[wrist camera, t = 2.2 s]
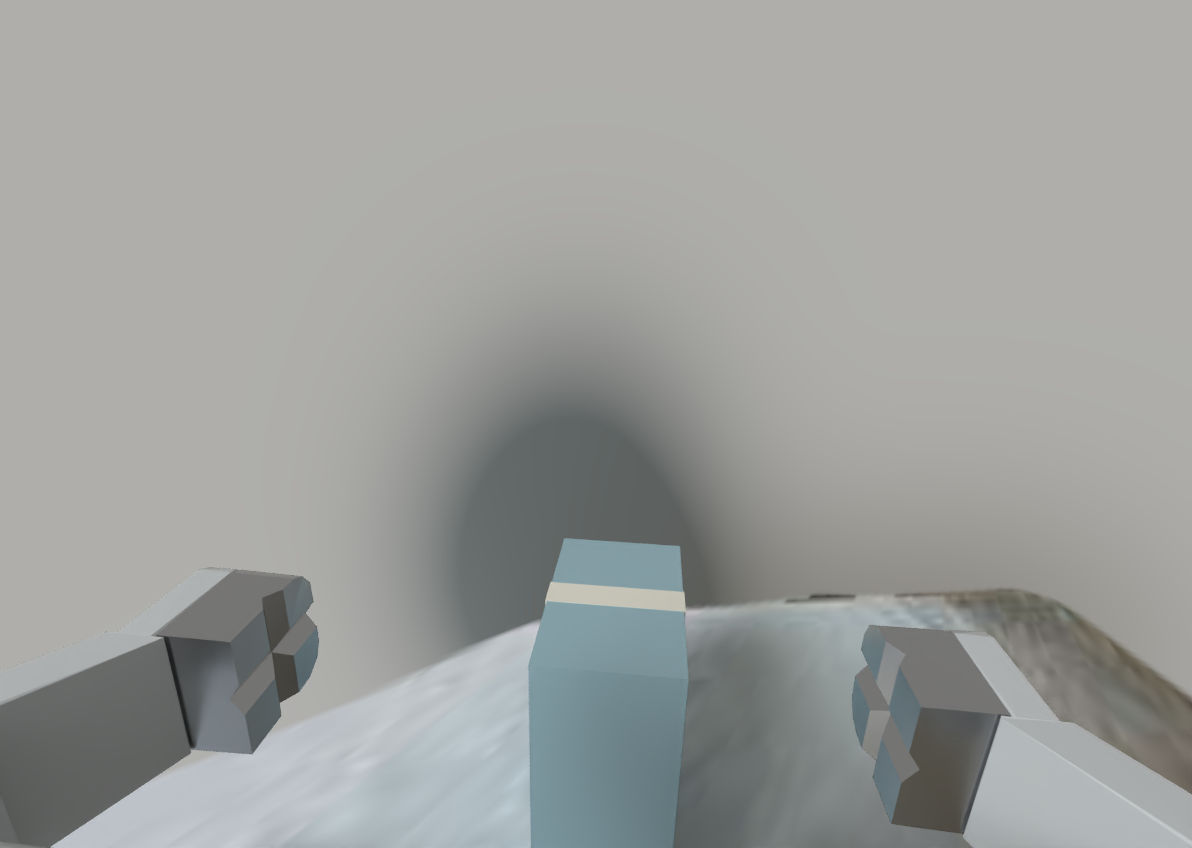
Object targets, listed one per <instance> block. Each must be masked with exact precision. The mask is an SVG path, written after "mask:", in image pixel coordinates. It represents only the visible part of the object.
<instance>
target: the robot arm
mask: <svg viewBox="0 0 1192 848" xmlns="http://www.w3.org/2000/svg"><path fill="white" fill-rule="evenodd" d="M312 603H313V596H312V591H311V585H310V582H309V581H308V580H306V579H305V578H303V577H302V576H294V575H284V574H275V573H266V572H256V571H247V570H236V569H226V568H214V567H209V568H204V569H199V570H197V571H196V572H195V573H193V574H192V575H191V576H190V577H188V578H187V579H186V580H184V581H183V582H182V583H181V584H179V585H178V586H177V587H175V588H174V589H173V590H171V591H170V592H169V593H167V594H166V595H165V596H164V597H162V598H161V599H160V600H159V601H157V602H156V603H154V604H153V605H152V606H150V607H149V608H148V609H147V610H145V611H144V612H143V613H141V614H140V615H139V616H138V617H136V618H135V619H134V620H132V621H131V622H130V623H128V624H127V625H126V626H124V627H123V628H122V629H121V630H119V631H118V632H117V633H114V632H104V633H101V634H99V635H96V636H93V637H90V638H88V639H85V640H82V641H80V642H77V643H74V644H72V645H69V646H66V647H63V648H61V649H58V650H55V651H53V652H50V653H47V654H44V655H42V656H39V657H36V658H34V659H31V660H28V661H25V662H23V663H20V664H17V665H15V666H12V667H9V668H7V669H4V670H1V671H0V848H50V847H51V846H52V845H54V844H55V843H57V842H58V841H60V840H61V839H63V838H64V837H66V836H67V835H69V834H70V833H72V832H73V831H75V830H76V829H78V828H79V827H81V826H82V825H84V824H85V823H87V822H88V821H90V820H91V819H93V818H94V817H96V816H97V815H99V814H100V813H102V812H103V811H105V810H106V809H108V808H109V807H111V806H112V805H114V804H115V803H117V802H118V801H120V800H121V799H123V798H124V797H126V796H127V795H129V794H130V793H132V792H133V791H135V790H136V789H138V788H139V787H141V786H142V785H144V784H145V783H147V782H148V781H150V780H151V779H153V778H154V777H156V776H157V775H159V774H160V773H162V772H163V771H165V770H166V769H168V768H169V767H171V766H172V765H174V764H175V763H177V762H178V761H180V760H181V759H183V758H184V757H186V756H187V755H189V754H190V753H191V750H203V751H216V752H229V753H242V754H253V753H254V751H255V750H256V749H257V747H258V746H259V745H260V743H261V742H262V741H263V739H264V738H265V737H266V735H267V734H268V733H269V732H270V730H271V729H272V728H273V726H274V725H275V724H276V722H277V721H278V719H279V718H280V717H281V709H280V702H282V701H284V700H286V699H287V698H289V697H291V696H293V695H295V694H296V693H298V692H299V691H300V690H301V689H302V687H303V686H304V684H305V683H306V681H307V680H308V679H309V677H310V675H311V673H312V670H313V667H314V665H315V662H316V659H317V655H318V644H319V639H318V631H317V626H316V625H315V624H314V623H313V622H312V620H311V619H310V618H309V617H308V616H307V614H306V612H307V610H308V609H309V607H310V606H311V604H312ZM861 650H862V652H863V655H864V657H865V659H866V661H867V664H868V665H867V666H866V667H865V668H864V669H863V670H862V671H860V672H859V673H858V674H857V675H856V676H855V682H854V688H853V694H852V706H853V720H854V724H855V729H856V733H857V736H858V739H859V741H860V744H861V747H862V749H864V750H865V751H866V752H867V753H868V754H869V755H870V756H871V757H873V758H874V759H875V760H876V765H875V770H874V774H873V779H874V781H875V784H876V786H877V789H878V791H879V794H880V797H881V799H882V802H883V804H884V807H885V809H886V812H887V815H888V817H889V820H890V822H891V824H896V825H903V826H910V827H918V828H925V829H932V830H940V831H947V832H954V833H961V834H964V835H963V838H964V839H965V840H966V841H967V842H968V843H969V844H970V845H971V846H972V847H973V848H1192V794H1190V793H1188V792H1187V791H1185V790H1183V789H1182V788H1180V787H1179V786H1177V785H1175V784H1174V783H1172V782H1170V781H1169V780H1167V779H1165V778H1164V777H1162V776H1160V775H1159V774H1157V773H1155V772H1154V771H1152V770H1151V769H1149V768H1147V767H1146V766H1144V765H1142V764H1141V763H1139V762H1137V761H1136V760H1134V759H1132V758H1131V757H1129V756H1127V755H1126V754H1124V753H1123V752H1121V751H1119V750H1118V749H1116V748H1114V747H1113V746H1111V745H1109V744H1108V743H1106V742H1104V741H1103V740H1101V739H1099V738H1098V737H1096V736H1094V735H1093V734H1091V733H1090V732H1088V731H1086V730H1085V729H1083V728H1081V727H1080V726H1078V725H1076V724H1075V723H1070V722H1060V720H1059V719H1058V718H1057V717H1056V715H1055V714H1054V713H1053V712H1052V710H1051V709H1050V708H1049V707H1048V705H1047V704H1046V703H1045V702H1044V700H1043V699H1042V698H1041V697H1040V695H1039V694H1038V693H1037V692H1036V690H1035V689H1034V688H1033V687H1032V685H1031V684H1030V683H1029V682H1028V680H1027V679H1026V678H1025V677H1024V675H1023V674H1022V673H1021V671H1020V670H1019V669H1018V668H1017V666H1016V665H1015V664H1014V663H1013V661H1012V660H1011V659H1010V658H1009V656H1008V655H1007V654H1006V653H1005V651H1004V650H1003V649H1002V648H1001V646H1000V645H999V644H998V643H997V641H996V640H995V639H994V638H993V637H992V636H990V635H989V634H987V633H985V632H980V631H962V630H931V629H917V628H903V627H889V626H875V625H869V627H868V629H867V631H866V633H865V634H864V639H863V643H862V648H861Z"/></svg>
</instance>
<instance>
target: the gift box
mask: <svg viewBox="0 0 1192 848" xmlns="http://www.w3.org/2000/svg"><path fill="white" fill-rule="evenodd" d="M685 612H686V610H685V596H684V592H683V588H682V572H681V559H680V547H679V546H668V545H667V546H666V545H653V544H639V543H624V542H609V541H596V540H581V539H567V538H565V539H564V542H563V546H562V549H561V553H560V556H559V560H558V563H557V567H556V570H555V574H554V577H553V581H552V582H551V583H550V586H549V590H548V593H547V597H546V600H545V609H544V612H543V616H542V619H541V623H540V627H539V630H538V634H537V637H536V641H535V644H534V648H533V651H532V655H531V658H530V662H529V665H528V667H529V738H530V808H531V848H673V845H674V834H675V823H676V812H677V801H678V791H679V780H680V769H681V758H682V747H683V736H684V725H685V714H686V703H687V692H688V681H689V677H688V662H687V647H686V632H685Z"/></svg>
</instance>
